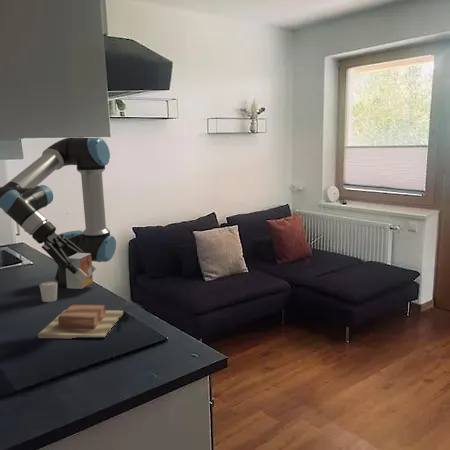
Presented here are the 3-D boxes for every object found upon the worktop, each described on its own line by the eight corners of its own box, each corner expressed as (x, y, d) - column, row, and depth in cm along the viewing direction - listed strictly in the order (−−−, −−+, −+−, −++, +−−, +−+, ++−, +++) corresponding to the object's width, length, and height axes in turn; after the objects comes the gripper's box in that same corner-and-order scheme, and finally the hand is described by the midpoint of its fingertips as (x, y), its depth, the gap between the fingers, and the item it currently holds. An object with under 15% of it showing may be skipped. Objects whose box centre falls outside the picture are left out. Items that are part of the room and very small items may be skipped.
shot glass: (36, 301, 180) (35, 285, 179) (48, 296, 187) (47, 280, 185) (51, 303, 178) (50, 286, 177) (62, 297, 185) (61, 281, 183)
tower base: (65, 312, 168) (64, 299, 167) (123, 313, 167) (122, 300, 166) (37, 337, 146) (36, 322, 145) (104, 339, 145) (103, 323, 144)
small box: (81, 289, 150) (79, 258, 148) (66, 288, 151) (64, 258, 149) (93, 282, 157) (91, 253, 155) (78, 281, 158) (77, 252, 156)
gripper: (46, 230, 162) (92, 273, 164) (16, 242, 141) (69, 292, 143) (59, 215, 161) (106, 259, 163) (31, 226, 140) (85, 276, 142)
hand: (89, 274), depth 153 cm, fingers closed on small box, 9 cm apart
